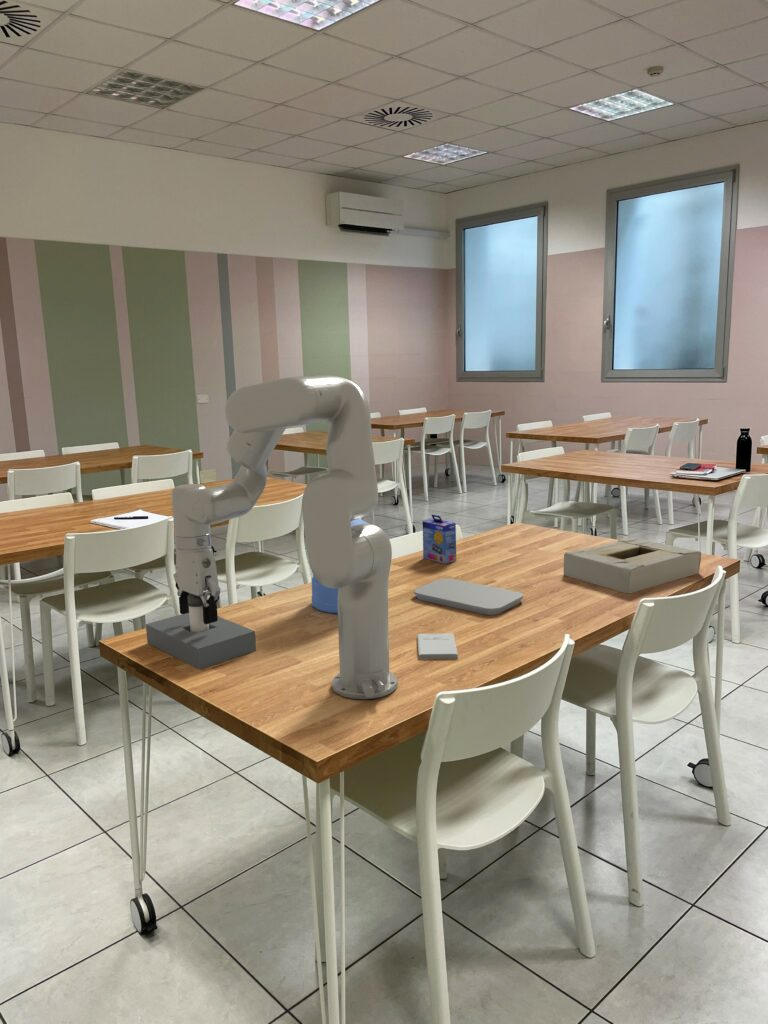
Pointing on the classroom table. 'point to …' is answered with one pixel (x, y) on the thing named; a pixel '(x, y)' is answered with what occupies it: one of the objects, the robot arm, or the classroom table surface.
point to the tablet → (469, 596)
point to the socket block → (200, 640)
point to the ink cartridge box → (439, 540)
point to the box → (631, 564)
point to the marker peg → (196, 614)
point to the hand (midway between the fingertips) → (198, 617)
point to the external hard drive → (437, 646)
